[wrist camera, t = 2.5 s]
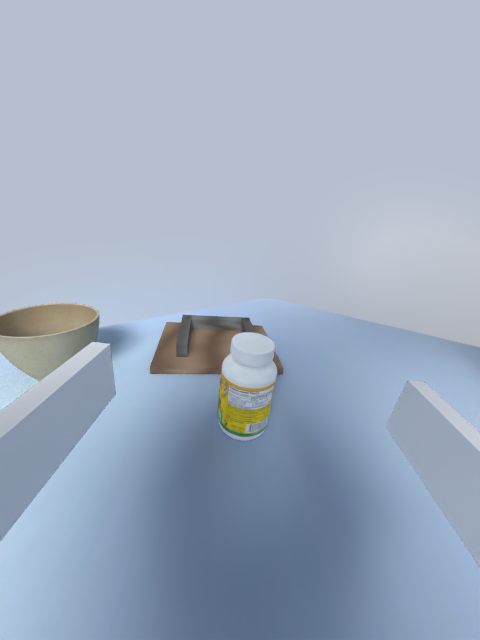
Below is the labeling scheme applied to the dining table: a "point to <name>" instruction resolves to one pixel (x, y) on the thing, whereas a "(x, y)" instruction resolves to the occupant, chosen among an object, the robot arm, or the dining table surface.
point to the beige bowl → (46, 335)
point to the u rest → (200, 344)
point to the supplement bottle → (247, 386)
